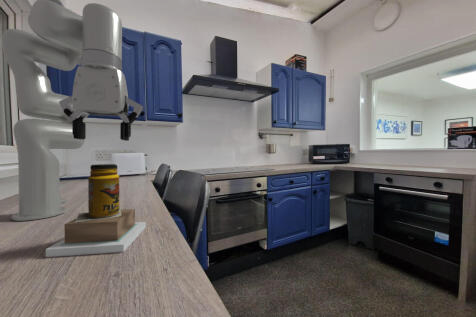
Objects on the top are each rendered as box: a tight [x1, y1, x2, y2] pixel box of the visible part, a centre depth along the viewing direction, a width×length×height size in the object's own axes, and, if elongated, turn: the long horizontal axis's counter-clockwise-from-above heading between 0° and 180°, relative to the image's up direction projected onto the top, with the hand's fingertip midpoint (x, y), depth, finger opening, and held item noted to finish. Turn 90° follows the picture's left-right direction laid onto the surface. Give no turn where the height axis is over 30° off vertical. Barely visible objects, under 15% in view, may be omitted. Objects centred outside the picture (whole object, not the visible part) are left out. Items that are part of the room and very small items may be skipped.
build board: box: [45, 221, 147, 258], centre depth 46 cm, size 14×14×2 cm
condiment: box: [74, 163, 122, 223], centre depth 46 cm, size 7×8×12 cm
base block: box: [64, 208, 136, 244], centre depth 46 cm, size 10×10×4 cm
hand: (102, 139), depth 46 cm, fingers open, 9 cm apart
